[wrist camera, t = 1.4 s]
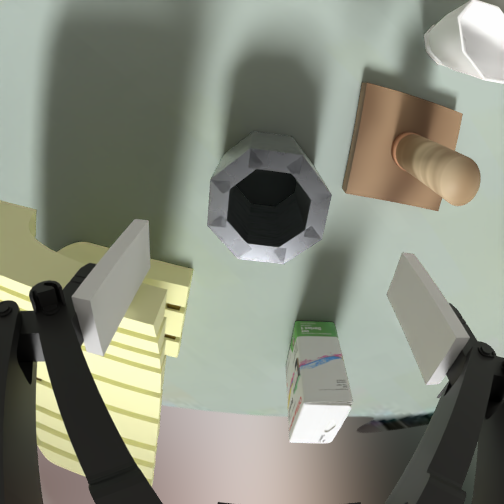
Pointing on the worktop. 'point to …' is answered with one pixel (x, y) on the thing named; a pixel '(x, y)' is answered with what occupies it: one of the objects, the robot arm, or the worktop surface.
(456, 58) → the cup
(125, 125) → the worktop surface
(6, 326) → the robot arm
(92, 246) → the slatted curved stool
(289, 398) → the ink box
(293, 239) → the grey hollow octagonal piece
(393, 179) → the post
